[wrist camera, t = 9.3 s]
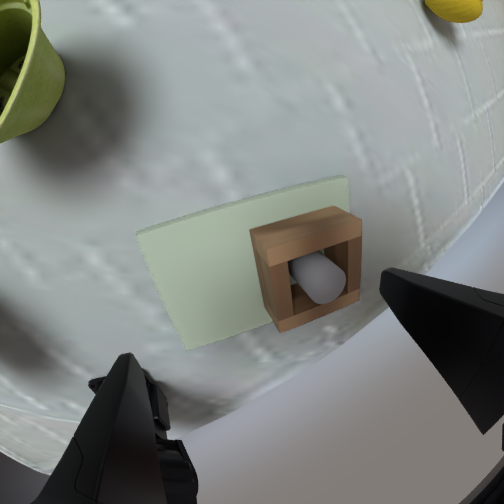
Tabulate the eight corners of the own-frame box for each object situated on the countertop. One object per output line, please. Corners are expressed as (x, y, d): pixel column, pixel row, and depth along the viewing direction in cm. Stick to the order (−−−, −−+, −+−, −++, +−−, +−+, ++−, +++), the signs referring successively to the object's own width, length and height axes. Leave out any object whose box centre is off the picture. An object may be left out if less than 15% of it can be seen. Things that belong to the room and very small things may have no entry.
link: (264, 306, 23) (280, 333, 20) (248, 229, 19) (266, 249, 16) (336, 279, 24) (359, 300, 21) (334, 205, 21) (361, 219, 18)
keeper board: (184, 344, 23) (194, 391, 18) (136, 231, 18) (129, 267, 13) (345, 286, 26) (378, 317, 21) (342, 175, 21) (387, 190, 16)
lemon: (441, 6, 15) (493, 2, 8) (438, 34, 17) (495, 32, 10) (411, -24, 13) (465, -36, 6) (406, 2, 15) (467, -9, 8)
